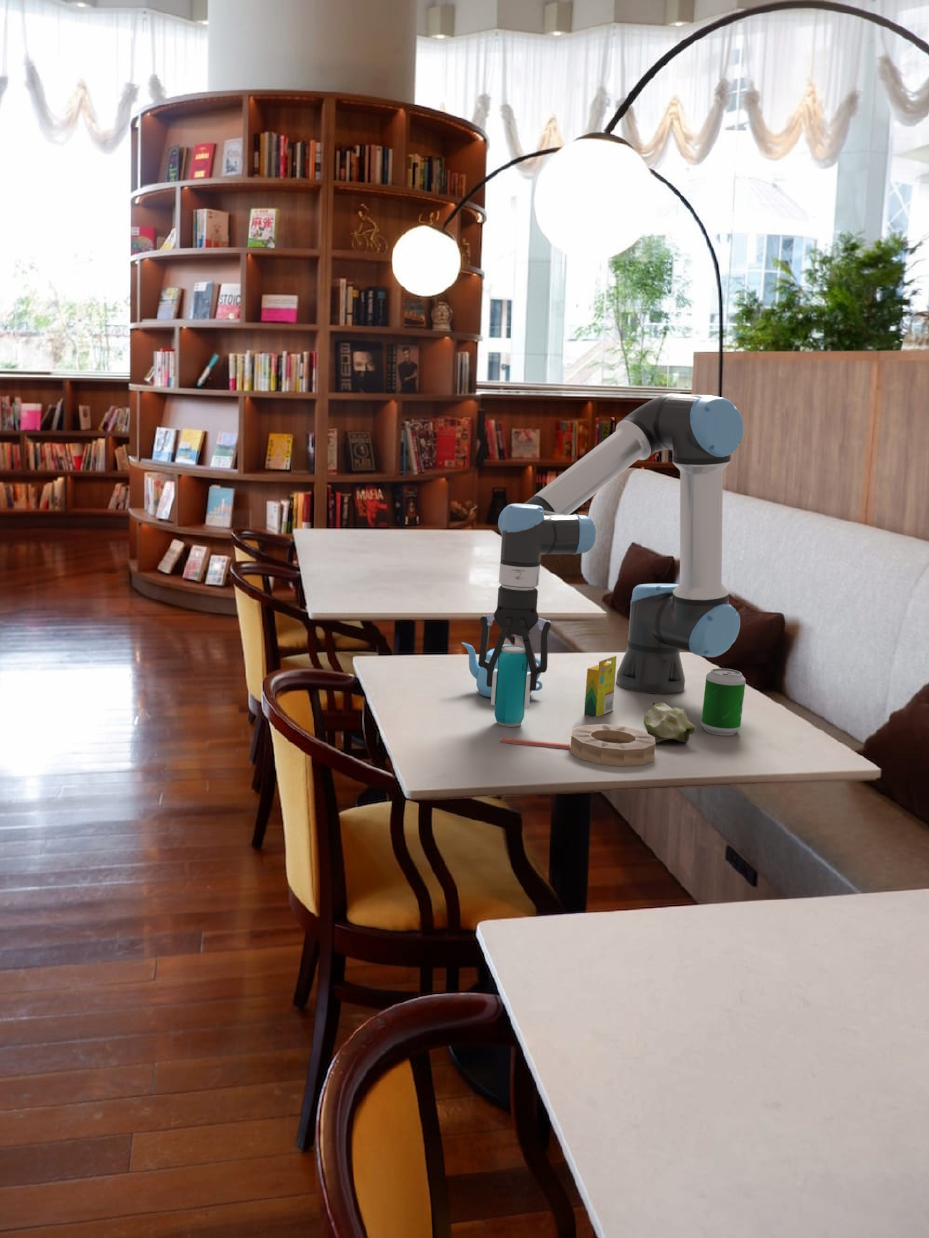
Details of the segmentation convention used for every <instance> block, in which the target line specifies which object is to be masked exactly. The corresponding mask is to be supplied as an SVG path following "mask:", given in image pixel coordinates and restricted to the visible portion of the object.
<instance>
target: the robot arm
mask: <svg viewBox="0 0 929 1238" xmlns="http://www.w3.org/2000/svg"><path fill="white" fill-rule="evenodd" d="M743 437H744V421H743V418H742V415H741V413H740V410H739V409H738V408H737V406H735V404H734V403H733V402H732V401H731V400H729V399H728V398H725V397H720V396H716V395H713V394H691V393H690V394H689V393H688V394H687V393H673V392H672V393H667V394H662V395H660V396H657V397H655V398H653V399H651V400H649V401H648V402H646V403H644V404H642V405H641V406H639V407H637V408H636V409H634V410H633V411H632V412H630V413H628V415H626V416H625V417H624V418H622V419H621V420H620V421H619V422H618V423H617V424H616V426H615V431H614V432H613V433H612V434H610V435H609V436H608V437H606V438H605V439H603V441H601V443H599V444H598V445H596V446H595V447H594V448H593V449H591V450H590V451H589V452H588V453H586V454H585V455H584V456H583V457H581V458H580V459H579V460H577V461H576V462H575V463H574V464H573V465H571V466H570V467H568V468H567V469H566V470H565V471H563V472H562V473H561V474H559V475H558V476H557V477H556V478H554V479H553V480H552V481H550V483H548V484H546V485H545V486H544V487H543V488H541V490H539V492H537V493H536V494H534V495H533V496H532V497H531V498H529V499H528V500H527V501H525V502H524V503H511V504H508V505H506V506H505V507H504V508H503V510H502V511H501V512H500V514H499V515H498V516H499V517H498V522H497V526H498V531H499V533H500V534H501V544H500V546H501V547H500V562H499V571H498V572H499V575H498V583H499V585H500V586H499V587H498V589H497V591H498V592H497V602H496V603H497V605H496V609H495V611H494V612H493V613H491V614H486V613H484V614H482V615H481V617H480V619H479V620H480V621H479V622H480V625H481V637H480V638H481V639H480V647H479V656H478V660H477V662H478V665H479V666H480V667H483V668H485V669H486V670H487V683H486V684H487V687H492V694H491V697H490V706H495V699H496V685H497V670H498V669H494V667H495V664H496V662H497V659H498V656H499V654H500V651H501V648H502V646H503V645H505V644H504V643H505V641H506V638H507V636H514V635H516V636H518V637H521V638H522V642H523V645H524V646H523V647H525V650H526V655H527V659H528V663H529V668H530V672H527V676H526V690H525V704H524V708H525V709H529V706H530V698H531V693H530V691H532V692H535V689H536V687H537V686H538V685H537V684H538V683H537V681H538V680H537V675H538V674H539V673H541V674H543V673H544V674H545V673H546V672H547V670H548V656H549V654H548V653H549V651H548V650H549V631H550V629H551V626H552V621H551V619H544V618H541V617H540V615H539V614H538V610H537V608H538V597H539V596H538V595H539V590H538V588H537V587H538V586H539V582H540V573H541V572H540V570H541V569H540V568H541V559H542V556H544V555H546V556H547V555H579V554H584V553H588V552H590V551H591V549H593V547H594V546H595V542H596V538H597V537H596V535H597V529H596V526H595V524H594V521H593V520H592V518H591V517H589V516H587V515H584V514H576V513H574V512H575V511H576V510H577V509H578V508H579V507H581V506H582V505H584V503H586V502H588V500H589V499H591V498H592V497H593V496H595V495H596V494H597V493H598V492H600V491H601V490H602V489H603V488H604V487H606V486H607V485H608V484H610V482H612V481H613V480H614V479H616V477H618V476H619V475H620V474H622V473H623V472H624V471H626V470H627V469H628V468H629V467H631V466H632V465H633V464H634V463H635V462H637V461H638V460H639V461H645V460H648V459H649V457H651V456H652V455H654V454H655V453H657V452H661V451H667V450H669V451H672V464H673V465H674V466H675V467H676V468H677V469H678V470H679V474H680V475H679V482H680V483H679V484H680V485H679V488H680V489H679V497H680V499H679V503H680V504H679V505H680V506H679V539H680V540H679V583H643V584H641V583H640V584H637V585H636V586H635V587H633V590H632V594H631V595H632V596H631V600H630V602H629V604H630V609H629V620H628V634H627V645H626V647H627V648H626V650H625V653H624V655H623V658H622V661H621V663H620V664H619V667H618V670H617V671H616V678H615V684H617V685H618V686H620V687H622V688H625V689H627V690H629V691H630V690H631V691H635V692H641V693H646V694H647V693H648V694H662V695H663V694H665V695H666V694H675V693H676V694H677V693H680V692H682V691H684V689H685V683H686V677H685V674H684V673H685V672H684V669H683V664H682V659H681V655H680V652H681V650H683V651H684V652H685V651H686V652H689V653H692V654H694V655H696V656H703V657H707V658H717V657H719V656H721V655H723V654H724V653H726V652H727V651H728V650H729V649H730V648H731V647H732V645H733V644H734V643H735V642H736V640H737V638H738V635H739V634H740V633H739V632H740V629H741V617H740V614H739V612H738V611H737V610H736V608H734V607H733V606H732V605H731V604H730V601H729V600H730V599H729V597H730V594H729V593H730V591H729V590H728V589H727V588H726V587H725V586H724V584H723V583H722V581H723V579H722V576H723V575H722V574H723V573H722V570H723V568H722V567H723V563H722V562H723V495H724V493H723V488H724V487H723V486H724V485H723V484H724V483H723V482H724V481H723V480H724V478H723V477H724V470H725V469H726V467H727V466H728V465H730V463H731V462H732V461H731V460H732V459H731V455H733V454H734V453H735V452H736V451H737V450H738V448H739V444H740V443H742V440H743ZM572 513H573V514H572ZM494 620H495V621H496V623H497V625H498V626H499V628H500V630H501V631H500V633H499V635H498V639H497V641H496V643H495V646H494V648H495V649H494V648H493V649H494V651H493V654H492V657H491V659H490V662H489V661H487V660H486V656H487V653H488V646H489V639H490V630H491V629H490V628H491V626H493V623H494V622H493V621H494ZM536 624H537V625H538V629H539V630H540V632H541V633H540V659H539V660H540V665H539V666H538V663H536V659H535V657H536V656H535V650H534V645H533V642H532V638H531V637H532V636H531V632H530V631H531V630H532V629H533V628H534V627H535V625H536Z"/></svg>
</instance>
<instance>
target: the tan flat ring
mask: <svg viewBox="0 0 929 1238" xmlns="http://www.w3.org/2000/svg"><path fill="white" fill-rule="evenodd" d="M655 750H656V743H655V737H653V736H651V735H650V734H648V733H647V731H644V730H642V729H637V728H634V727H629V726H625V725H617V724H616V725H615V724H614V725H613V724H605V723H601V724H586V725H581V726H579V727H576V728H572V731H571V737H570V749H569V751H570V753H571V754H573V755H575V756H576V757H578V758H579V759H581V760H584V761H589V762H591V763H594V764H599V765H604V766H605V765H606V766H617V767H630V766H631V767H632V766H643V765H646V764H648V763H651V762H652V761H655V754H656V753H655V752H656V751H655Z"/></svg>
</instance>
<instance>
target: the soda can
mask: <svg viewBox="0 0 929 1238" xmlns="http://www.w3.org/2000/svg"><path fill="white" fill-rule="evenodd" d="M704 684H705V685H704V693H703V694H704V695H703V704H702V711H701V712H702V714H701V726H702V727H703V728H704V730H705V731H706V733H709V734H712V735H717V736H722V737H723V736H724V737H725V736H728V737H729V736H734V735H736V733H737V732H738V731H740V729H741V725H742V716H743V706H744V697H745V689H746V678H745V677H744V675H743V674H742V672H741V671H738V670H735V669H731V668H722V667H720V668H719V667H718V668H713V669H711V671H710V672H708V673H706V676H705V683H704Z"/></svg>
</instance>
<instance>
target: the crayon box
mask: <svg viewBox="0 0 929 1238" xmlns="http://www.w3.org/2000/svg"><path fill="white" fill-rule="evenodd" d="M608 662H609V663H608ZM610 662H611V663H610ZM616 670H617V655H615V656H611V657H608V658H606V659H605V658H604V659H602V660H599V661H598V664H597V665H593V666H591V667H588V668H587V670H586V683H585V684H586V686H585V697H584V710H583V711H584V713H583V714H584V716H587V717H592V718H595V719H596V718H598V717H600V716H603V715H605V714H607V713H610V712H613V711H614V699H615V687H616V674H617V671H616Z"/></svg>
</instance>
